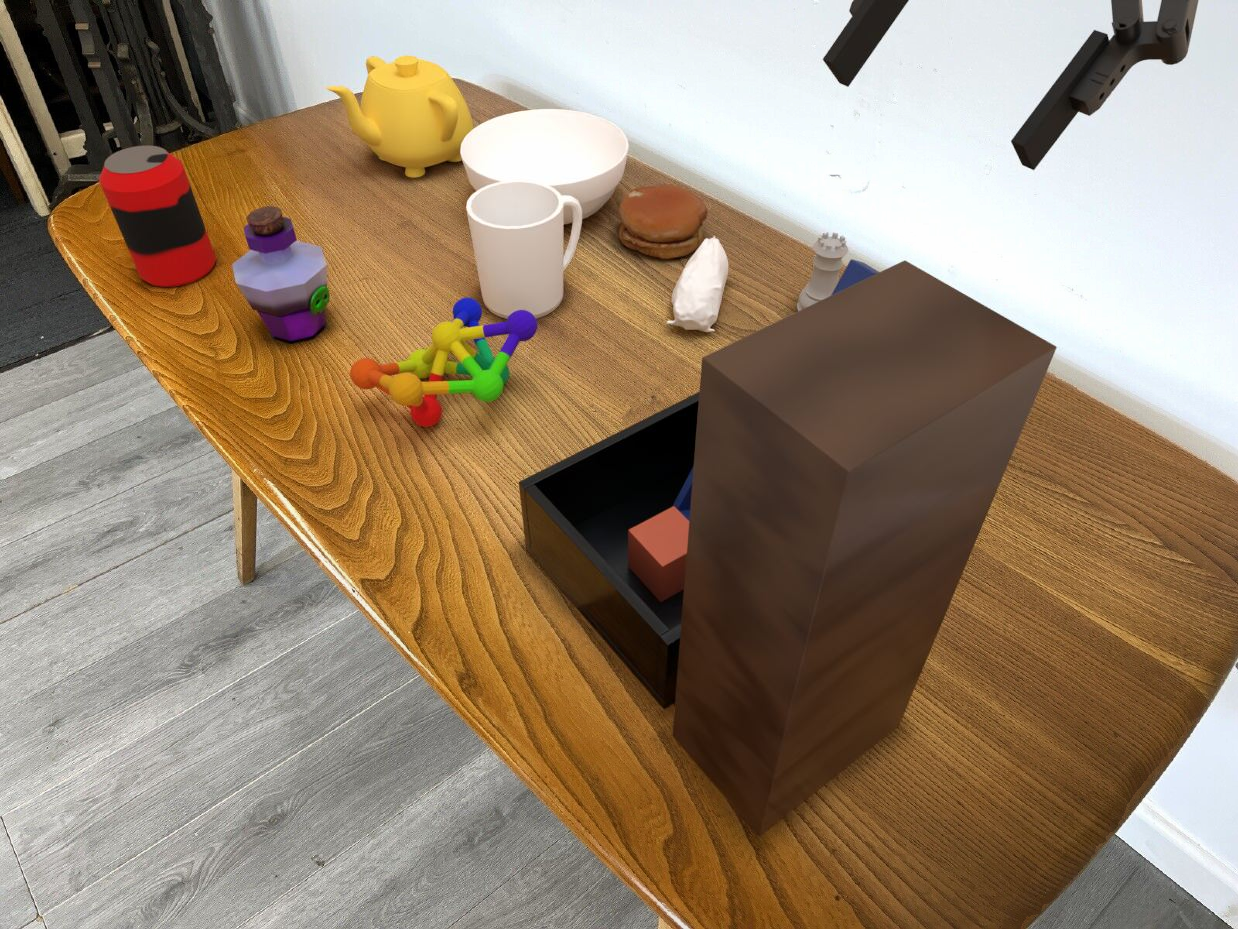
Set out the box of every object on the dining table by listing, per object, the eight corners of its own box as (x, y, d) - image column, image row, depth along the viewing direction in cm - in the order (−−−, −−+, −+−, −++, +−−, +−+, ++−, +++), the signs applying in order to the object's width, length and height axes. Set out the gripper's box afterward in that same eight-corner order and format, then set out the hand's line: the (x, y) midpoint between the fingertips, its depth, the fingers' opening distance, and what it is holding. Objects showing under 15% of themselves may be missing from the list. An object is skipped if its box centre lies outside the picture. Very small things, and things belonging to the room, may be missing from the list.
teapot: (370, 132, 118) (351, 36, 110) (482, 132, 118) (471, 36, 110) (346, 184, 108) (323, 83, 100) (468, 185, 108) (455, 83, 100)
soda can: (207, 286, 93) (166, 176, 85) (131, 290, 93) (82, 180, 84) (224, 246, 99) (186, 139, 90) (151, 250, 98) (107, 142, 90)
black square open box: (845, 587, 66) (864, 519, 61) (664, 710, 59) (668, 645, 54) (697, 457, 76) (702, 389, 70) (525, 550, 69) (518, 481, 63)
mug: (495, 333, 88) (483, 237, 80) (466, 284, 93) (454, 191, 86) (601, 305, 91) (599, 211, 84) (567, 260, 97) (563, 168, 89)
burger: (697, 266, 96) (700, 225, 92) (610, 256, 97) (609, 216, 94) (710, 218, 103) (713, 179, 99) (628, 210, 104) (629, 171, 101)
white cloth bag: (672, 291, 95) (662, 328, 86) (690, 228, 91) (681, 260, 83) (718, 304, 95) (713, 342, 86) (738, 241, 91) (734, 274, 83)
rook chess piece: (787, 314, 90) (799, 242, 84) (808, 293, 92) (820, 221, 87) (829, 330, 88) (844, 257, 82) (849, 308, 90) (865, 236, 85)
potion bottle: (332, 354, 85) (301, 239, 77) (239, 353, 85) (198, 239, 77) (352, 300, 91) (325, 189, 83) (265, 300, 92) (229, 188, 83)
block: (660, 603, 64) (705, 577, 66) (662, 566, 61) (709, 540, 63) (627, 566, 66) (671, 542, 68) (627, 529, 64) (674, 505, 65)
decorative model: (328, 353, 79) (470, 258, 82) (381, 428, 84) (512, 335, 88) (379, 405, 69) (537, 295, 72) (435, 486, 74) (579, 380, 78)
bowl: (514, 266, 96) (508, 203, 91) (441, 193, 107) (432, 132, 102) (659, 218, 103) (661, 156, 98) (577, 153, 114) (575, 95, 109)
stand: (899, 726, 58) (1057, 346, 37) (758, 837, 53) (849, 471, 32) (809, 640, 63) (904, 259, 42) (672, 735, 58) (701, 357, 37)
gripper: (1427, -145, 44) (1128, 229, 49) (997, -219, 59) (795, 76, 63) (1450, -277, 38) (1108, 163, 43) (965, -323, 53) (745, 10, 57)
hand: (921, 112), depth 53 cm, fingers open, 13 cm apart
